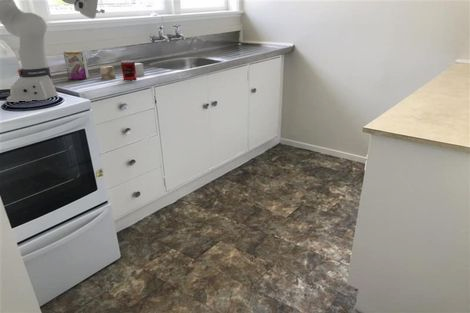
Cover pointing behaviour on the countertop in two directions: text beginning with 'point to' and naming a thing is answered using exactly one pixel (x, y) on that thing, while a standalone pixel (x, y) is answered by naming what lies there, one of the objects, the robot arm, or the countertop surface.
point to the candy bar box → (76, 64)
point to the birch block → (107, 72)
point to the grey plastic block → (139, 69)
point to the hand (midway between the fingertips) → (105, 2)
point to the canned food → (128, 69)
